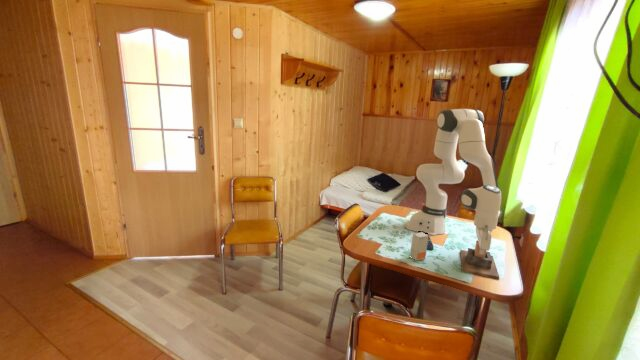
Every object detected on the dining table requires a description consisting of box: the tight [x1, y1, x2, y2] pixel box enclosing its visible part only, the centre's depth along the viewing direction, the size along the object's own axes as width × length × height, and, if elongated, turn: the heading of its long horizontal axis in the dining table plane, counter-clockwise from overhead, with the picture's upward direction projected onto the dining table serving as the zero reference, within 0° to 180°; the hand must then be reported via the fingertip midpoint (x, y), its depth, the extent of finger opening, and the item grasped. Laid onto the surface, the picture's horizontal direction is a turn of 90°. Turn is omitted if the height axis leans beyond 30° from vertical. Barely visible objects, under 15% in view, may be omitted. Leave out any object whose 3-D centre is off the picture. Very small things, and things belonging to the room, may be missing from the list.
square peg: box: [474, 240, 487, 258], centre depth 135 cm, size 4×4×8 cm
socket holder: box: [459, 247, 500, 280], centre depth 136 cm, size 14×20×5 cm
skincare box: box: [409, 232, 430, 261], centre depth 139 cm, size 6×4×12 cm
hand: (480, 250), depth 135 cm, fingers closed on square peg, 4 cm apart
